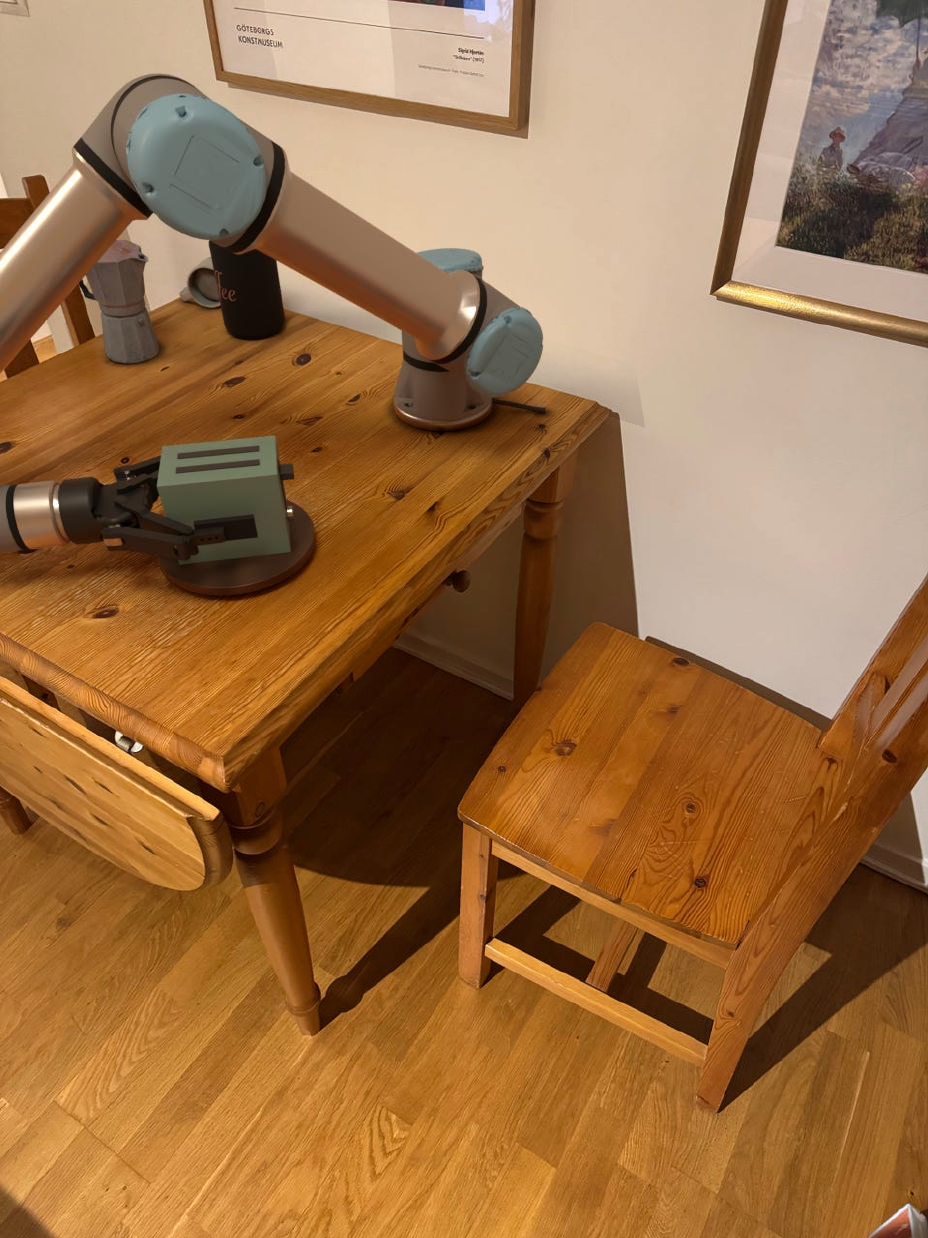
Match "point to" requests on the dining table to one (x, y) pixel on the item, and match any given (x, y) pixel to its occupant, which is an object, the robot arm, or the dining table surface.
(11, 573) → the dining table surface
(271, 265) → the coffee jar
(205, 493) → the toaster
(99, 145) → the robot arm
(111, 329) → the moka pot
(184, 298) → the ceramic mug
